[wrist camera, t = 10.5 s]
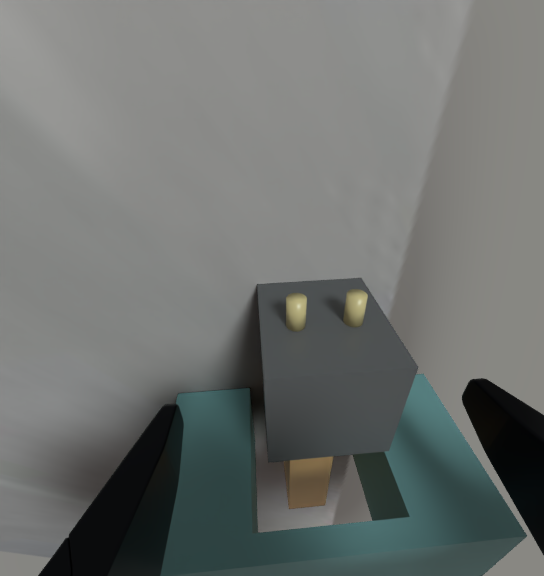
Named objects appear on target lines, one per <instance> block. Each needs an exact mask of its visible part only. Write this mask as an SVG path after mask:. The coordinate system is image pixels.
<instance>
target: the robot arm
mask: <svg viewBox="0 0 544 576" xmlns="http://www.w3.org/2000/svg"><path fill="white" fill-rule="evenodd" d="M462 401H463V405H464V407H465V409H466V411H467V414H468V416H469V418H470V420H471V422H472V425H473V427H474V429H475V431H476V433H477V436H478V438H479V440H480V442H481V444H482V446H483V448H484V451H485V453H486V454H487V456H488V458H489V460H490V462H491V464H492V465H493V467H494V469H495V471H496V472H497V474H498V476H499V477H500V479H501V481H502V483H503V485H504V486H505V488H506V490H507V492H508V493H509V495H510V497H511V499H512V500H513V502H514V504H515V506H516V507H517V509H518V511H519V513H520V514H521V516H522V518H523V519H524V521H525V523H526V525H527V527H528V528H529V530H530V532H531V534H532V536H533V537H534V539H535V541H536V543H537V544H538V546H539V548H540V550H541V551H542V553H543V555H544V415H543V414H541V413H540V412H538V411H536V410H535V409H533V408H532V407H530V406H528V405H527V404H525V403H524V402H522V401H520V400H519V399H517V398H516V397H514V396H513V395H511V394H509V393H508V392H506V391H505V390H503V389H501V388H500V387H498V386H497V385H495V384H493V383H492V382H490V381H488V380H487V379H483V378H481V379H472V380H470V381H469V383H468V385H467V387H466V389H465V391H464V393H463V395H462ZM183 430H184V421H183V417H182V414H181V411H180V408H179V405H178V404H167V405H164V406H163V407H162V408H161V409H160V410H159V412H158V413H157V415H156V416H155V417H154V419H153V420H152V421H151V423H150V424H149V426H148V427H147V428H146V430H145V431H144V432H143V434H142V435H141V436H140V438H139V439H138V441H137V442H136V443H135V445H134V446H133V447H132V449H131V450H130V452H129V453H128V454H127V456H126V457H125V458H124V460H123V461H122V462H121V464H120V465H119V467H118V468H117V469H116V471H115V472H114V473H113V475H112V476H111V478H110V479H109V480H108V482H107V483H106V484H105V486H104V487H103V488H102V490H101V491H100V493H99V494H98V495H97V497H96V498H95V499H94V501H93V502H92V504H91V505H90V506H89V508H88V509H87V510H86V512H85V513H84V514H83V516H82V517H81V519H80V520H79V521H78V523H77V524H76V525H75V527H74V528H73V530H72V531H71V532H70V534H69V538H66V539H65V540H64V542H63V543H62V544H61V546H60V547H59V549H58V550H57V551H56V553H55V554H54V555H53V557H52V558H51V559H50V561H49V562H48V563H47V565H46V566H45V567H44V569H43V570H42V571H41V573H40V574H39V575H38V576H160V575H161V570H162V565H163V560H164V555H165V550H166V545H167V540H168V535H169V529H170V524H171V519H172V514H173V509H174V504H175V499H176V494H177V488H178V483H179V474H180V463H181V452H182V441H183Z"/></svg>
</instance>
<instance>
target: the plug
mask: <svg viewBox="0 0 544 576" xmlns="http://www.w3.org/2000/svg"><path fill="white" fill-rule="evenodd" d="M257 291H258V308H259V325H260V342H261V359H262V374H263V389H264V404H265V418H266V433H267V448H268V462H279V461H284V468H285V477H286V487H287V496H288V505H289V509H294V508H304V507H313V506H323V505H325V503H326V497H327V491H328V485H329V479H330V473H331V467H332V461H333V456H343V455H353V454H364V453H375V452H385V451H389V450H390V447H391V444H392V441H393V438H394V435H395V432H396V430H397V427H398V424H399V421H400V418H401V415H402V413H403V410H404V407H405V404H406V401H407V398H408V395H409V393H410V390H411V387H412V384H413V381H414V378H415V376H416V373H417V369H418V366H417V365H416V363H415V361H414V360H413V358H412V357H411V355H410V353H409V352H408V350H407V349H406V347H405V346H404V344H403V342H402V341H401V340H400V338H399V336H398V335H397V333H396V332H395V330H394V328H393V327H392V326H391V324H390V322H389V321H388V319H387V317H386V316H385V314H384V313H383V311H382V310H381V308H380V307H379V305H378V303H377V302H376V300H375V299H374V297H373V296H372V294H371V292H370V291H369V289H368V288H367V286H366V285H365V283H364V282H363V280H362V278H352V279H335V280H319V281H303V282H286V283H270V284H257Z"/></svg>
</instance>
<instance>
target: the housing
mask: <svg viewBox="0 0 544 576" xmlns="http://www.w3.org/2000/svg"><path fill="white" fill-rule="evenodd" d="M176 404H178V405H179V408H180V411H181V414H182V417H183V421H184V430H183V441H182V452H181V463H180V474H179V483H178V488H177V494H176V499H175V504H174V509H173V514H172V519H171V524H170V529H169V535H168V540H167V545H166V550H165V555H164V560H163V565H162V570H161V575H160V576H482V575H483V574H485V573H486V572H487V571H488V570H489V569H490V568H492V567H493V566H494V565H495V564H496V563H497V562H498V561H499V560H501V559H502V558H503V557H504V556H505V555H506V554H507V553H508V552H510V551H511V550H512V549H513V548H514V547H515V546H516V545H518V544H519V543H520V542H521V541H522V540H523V539H524V538H526V537H527V535H526V533H525V532H524V530H523V529H522V527H521V526H520V524H519V522H518V521H517V519H516V518H515V516H514V515H513V513H512V511H511V510H510V508H509V507H508V505H507V504H506V502H505V501H504V499H503V497H502V496H501V494H500V493H499V491H498V490H497V488H496V486H495V485H494V483H493V482H492V480H491V479H490V477H489V475H488V474H487V473H486V471H485V469H484V468H483V466H482V465H481V463H480V461H479V460H478V458H477V457H476V455H475V454H474V452H473V450H472V449H471V447H470V446H469V444H468V443H467V441H466V440H465V438H464V436H463V435H462V433H461V432H460V430H459V429H458V427H457V426H456V424H455V423H454V421H453V419H452V418H451V416H450V415H449V413H448V412H447V410H446V408H445V407H444V405H443V404H442V402H441V401H440V399H439V397H438V396H437V394H436V393H435V391H434V390H433V388H432V386H431V385H430V383H429V382H428V380H427V379H426V377H425V376H424V374H417V375H416V376H415V378H414V381H413V384H412V387H411V390H410V393H409V395H408V398H407V401H406V404H405V407H404V410H403V413H402V415H401V418H400V421H399V424H398V427H397V430H396V432H395V435H394V438H393V441H392V444H391V447H390V450H389V451H385V452H375V453H364V454H353V457H354V461H355V464H356V467H357V471H358V474H359V477H360V481H361V484H362V487H363V490H364V494H365V497H366V501H367V504H368V507H369V511H370V514H371V517H372V521H367V522H359V523H348V524H339V525H329V526H320V527H310V528H301V529H291V530H282V531H272V532H263V533H258V523H257V491H256V458H255V436H254V426H253V416H252V406H251V396H250V388H242V389H230V390H217V391H205V392H193V393H180V394H178V396H177V400H176Z"/></svg>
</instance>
